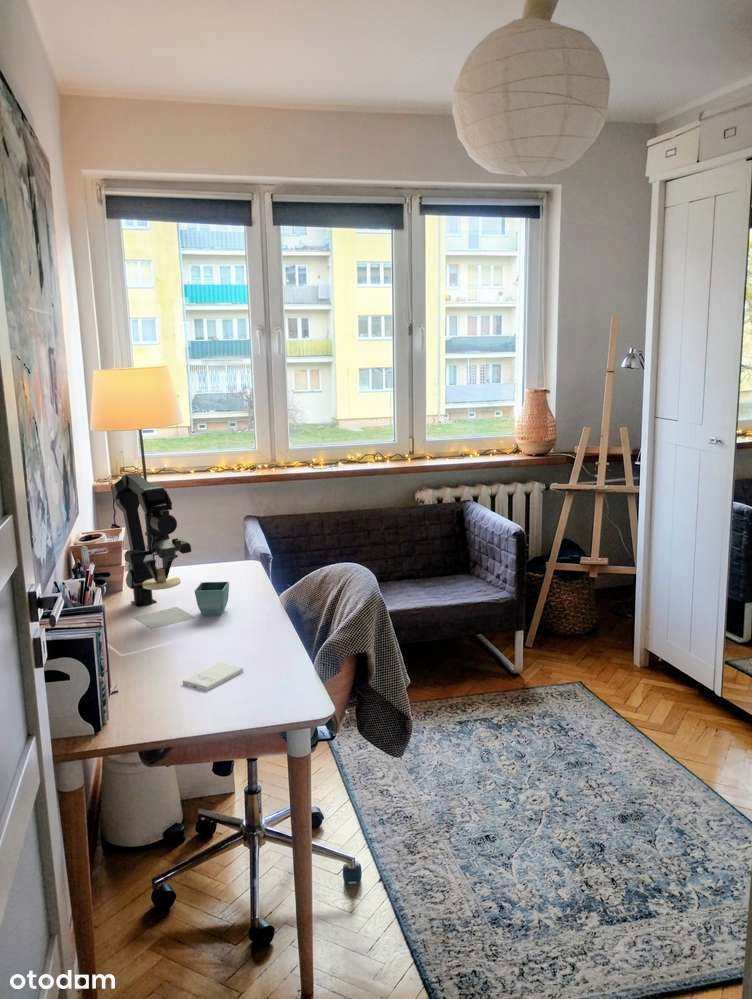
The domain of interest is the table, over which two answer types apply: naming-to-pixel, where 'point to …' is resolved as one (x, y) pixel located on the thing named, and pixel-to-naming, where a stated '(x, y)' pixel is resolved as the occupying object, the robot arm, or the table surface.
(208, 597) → the flower pot
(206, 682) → the external hard drive
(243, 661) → the table surface
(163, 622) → the mat
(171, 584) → the lid
